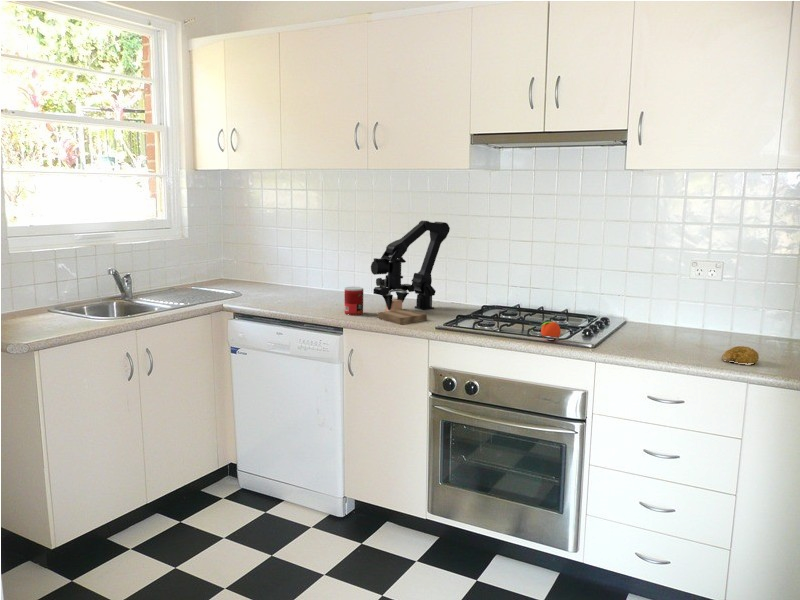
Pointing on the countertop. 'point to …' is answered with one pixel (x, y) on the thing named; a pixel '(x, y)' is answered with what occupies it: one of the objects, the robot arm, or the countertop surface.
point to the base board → (402, 316)
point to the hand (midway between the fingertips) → (393, 309)
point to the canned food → (353, 300)
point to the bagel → (741, 355)
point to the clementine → (550, 329)
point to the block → (395, 305)
